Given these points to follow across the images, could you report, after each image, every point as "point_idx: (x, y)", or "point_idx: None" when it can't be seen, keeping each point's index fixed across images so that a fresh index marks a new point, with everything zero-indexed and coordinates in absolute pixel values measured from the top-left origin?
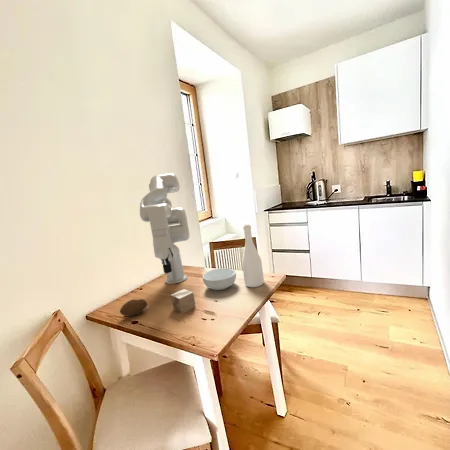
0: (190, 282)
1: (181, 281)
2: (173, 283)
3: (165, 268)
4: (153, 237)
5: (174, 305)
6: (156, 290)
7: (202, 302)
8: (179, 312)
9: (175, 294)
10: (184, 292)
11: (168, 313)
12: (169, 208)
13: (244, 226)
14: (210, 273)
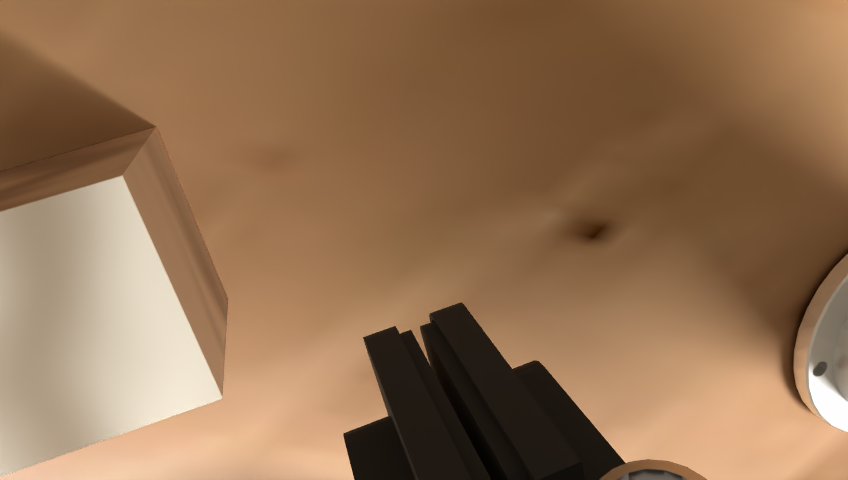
0: (704, 428)
1: (795, 360)
2: (827, 280)
3: (403, 438)
4: None
5: (97, 154)
6: (843, 75)
7: (117, 442)
8: (8, 169)
9: (80, 245)
10: (62, 379)
11: (80, 42)
12: None
13: None
14: None
